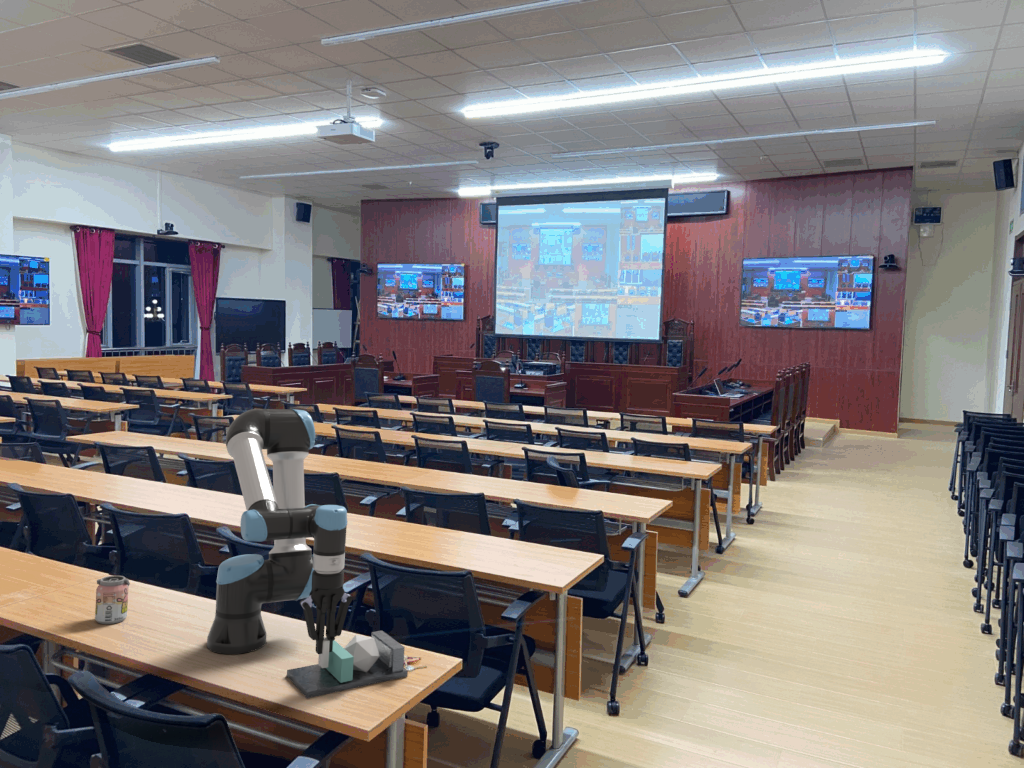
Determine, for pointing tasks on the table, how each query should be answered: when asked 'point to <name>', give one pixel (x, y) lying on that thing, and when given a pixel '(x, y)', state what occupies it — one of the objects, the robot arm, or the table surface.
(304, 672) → the vise base
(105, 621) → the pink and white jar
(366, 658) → the die
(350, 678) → the bar
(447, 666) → the table surface
